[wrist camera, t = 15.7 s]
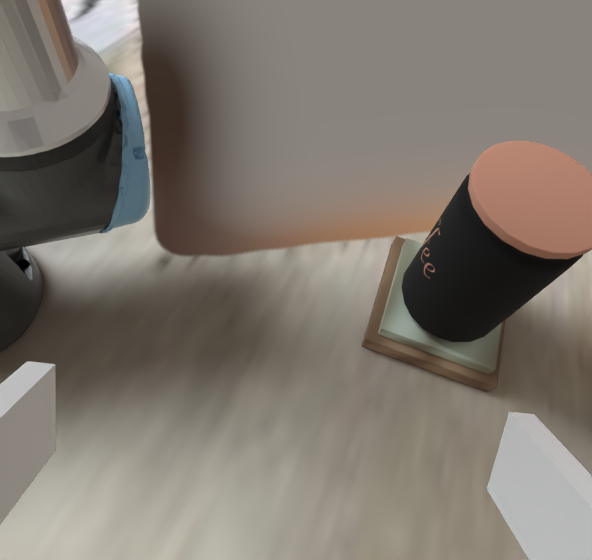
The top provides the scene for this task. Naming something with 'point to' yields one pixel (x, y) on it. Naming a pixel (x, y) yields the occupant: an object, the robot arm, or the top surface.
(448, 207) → the coffee jar
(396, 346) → the plinth
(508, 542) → the top surface
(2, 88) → the robot arm
